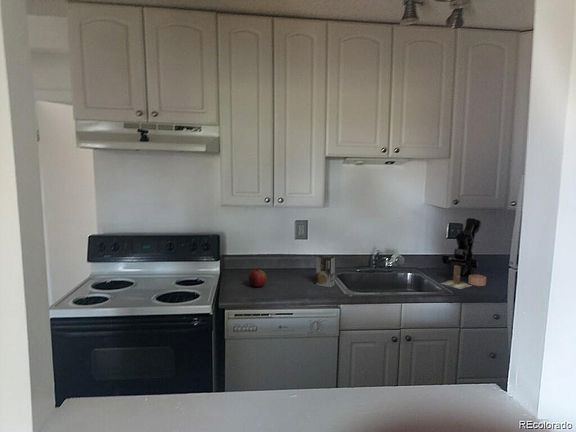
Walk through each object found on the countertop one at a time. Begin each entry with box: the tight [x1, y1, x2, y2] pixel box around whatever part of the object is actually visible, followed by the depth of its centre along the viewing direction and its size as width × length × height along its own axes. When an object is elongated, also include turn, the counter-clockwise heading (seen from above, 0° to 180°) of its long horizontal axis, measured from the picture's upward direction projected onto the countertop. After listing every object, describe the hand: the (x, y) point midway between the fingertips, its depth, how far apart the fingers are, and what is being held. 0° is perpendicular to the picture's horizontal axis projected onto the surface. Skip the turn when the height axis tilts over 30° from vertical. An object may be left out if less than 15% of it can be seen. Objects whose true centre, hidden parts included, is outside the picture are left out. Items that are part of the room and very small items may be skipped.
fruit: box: [248, 267, 267, 288], centre depth 209 cm, size 11×10×10 cm
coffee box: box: [315, 254, 336, 288], centre depth 214 cm, size 9×6×16 cm
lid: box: [444, 264, 468, 289], centre depth 220 cm, size 12×12×11 cm
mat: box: [440, 282, 472, 290], centre depth 220 cm, size 12×12×1 cm
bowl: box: [467, 273, 487, 287], centre depth 223 cm, size 9×9×4 cm
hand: (456, 273), depth 218 cm, fingers open, 6 cm apart
